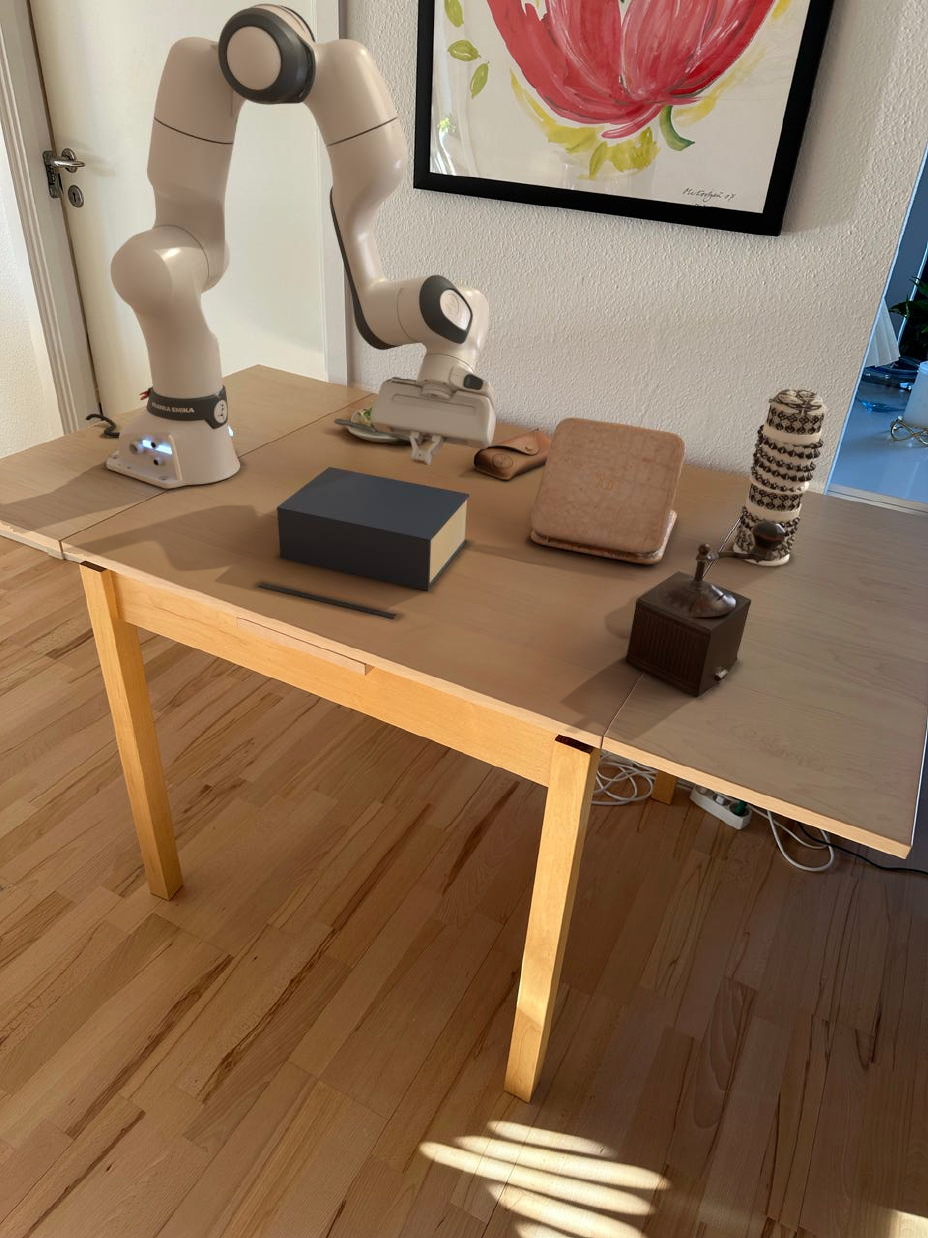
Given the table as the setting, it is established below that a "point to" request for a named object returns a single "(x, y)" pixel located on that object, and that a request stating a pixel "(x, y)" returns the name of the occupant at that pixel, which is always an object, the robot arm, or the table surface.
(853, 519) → the table surface
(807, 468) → the white patterned cylinder
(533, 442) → the sunglasses case
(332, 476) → the dictionary
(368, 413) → the salad plate
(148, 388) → the robot arm
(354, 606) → the dark grey thin rod
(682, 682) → the manual coffee grinder
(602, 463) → the case
